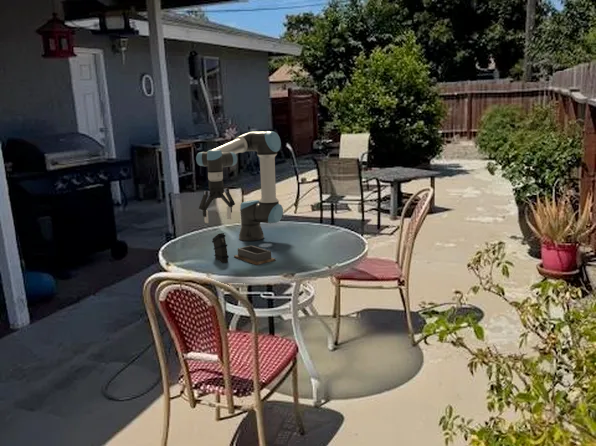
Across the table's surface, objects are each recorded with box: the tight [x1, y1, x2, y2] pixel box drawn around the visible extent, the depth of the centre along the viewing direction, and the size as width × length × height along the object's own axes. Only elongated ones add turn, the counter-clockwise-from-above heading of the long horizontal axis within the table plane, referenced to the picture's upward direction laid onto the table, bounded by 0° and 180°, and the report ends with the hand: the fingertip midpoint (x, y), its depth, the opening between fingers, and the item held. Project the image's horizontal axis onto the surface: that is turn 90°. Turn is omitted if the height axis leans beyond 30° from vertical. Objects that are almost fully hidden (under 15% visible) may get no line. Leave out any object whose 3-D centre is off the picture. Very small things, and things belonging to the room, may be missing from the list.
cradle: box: [237, 245, 272, 262], centre depth 294 cm, size 9×18×4 cm, turn 39°
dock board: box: [233, 254, 277, 266], centre depth 294 cm, size 12×21×1 cm, turn 39°
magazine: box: [211, 232, 230, 264], centre depth 293 cm, size 4×13×15 cm, turn 30°
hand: (218, 220), depth 290 cm, fingers open, 13 cm apart
